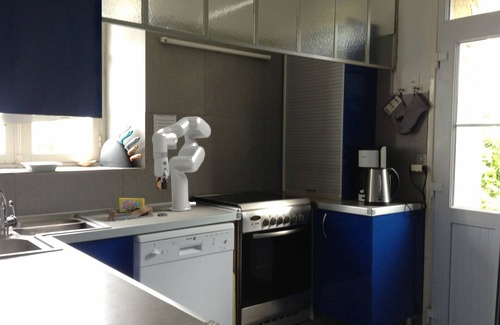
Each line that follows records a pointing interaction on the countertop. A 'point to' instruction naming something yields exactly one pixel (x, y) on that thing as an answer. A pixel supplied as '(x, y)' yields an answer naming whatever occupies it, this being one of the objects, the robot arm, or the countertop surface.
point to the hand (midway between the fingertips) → (162, 188)
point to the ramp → (144, 210)
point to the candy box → (130, 204)
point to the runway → (126, 216)
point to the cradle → (162, 214)
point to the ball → (159, 184)
